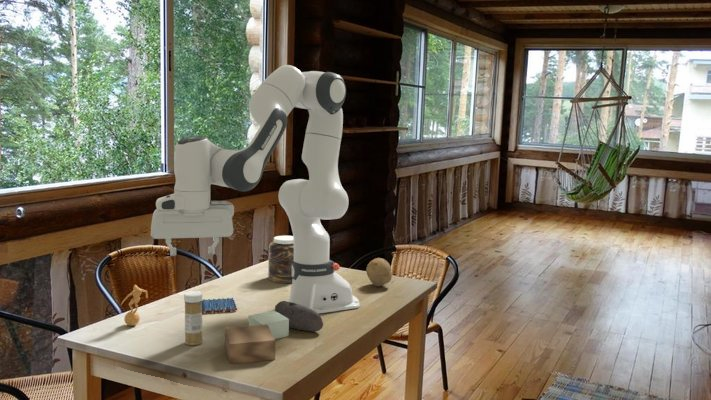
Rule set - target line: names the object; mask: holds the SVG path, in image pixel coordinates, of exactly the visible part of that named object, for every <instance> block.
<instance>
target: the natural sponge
mask: <svg viewBox="0 0 711 400" xmlns="http://www.w3.org/2000/svg"><path fill="white" fill-rule="evenodd" d="M365 271H366V275H367V277H368V279H369V281H370V283H372V284H373V286H375V287H380V288H381V287H383V286H384V285H386V284H388V283H390V282H391V280H392V276H393V273H392V267H391V265H390V263H389V262H388V261H387V260H386V259H385V258H381V257H377V258H376V257H375V258H374V259H372V260H370V261H369V263H368V264H367V266H366V269H365Z"/></svg>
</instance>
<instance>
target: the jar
mask: <svg viewBox="0 0 711 400" xmlns="http://www.w3.org/2000/svg"><path fill="white" fill-rule="evenodd" d="M293 259H294V239H293V235H276V236H274V237H273V241H272V242H270V243H269V246H268V265H267V266H268V267H267V268H268V274H267V275H268V280H269V281H270V282H273V283H278V284H292V280H293V278H292V260H293Z"/></svg>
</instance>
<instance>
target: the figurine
mask: <svg viewBox="0 0 711 400" xmlns="http://www.w3.org/2000/svg"><path fill="white" fill-rule="evenodd" d="M132 289H133V290H132V291H130V293H129V294H127V295H126V297H124V298H123V300H122V302H121V304H120V306H122V305H123V304H124V302H125V301H127V300H128V298H129V297H131V296H132V298H131V299H130V301H129V303H128V307H129V308H130V311H129V312H127V313H126V314H125V315H124V323H125V325H128V326H129V327H133V326H136V325H137V324H138V323H139V322H140V315H139V313H138V312H137V311H138V310H139V309H138V307H139V305H138V303H139V302H140V301H141V297H140V296H141V295H142V292H143V293H145V296H144V297H145V298H146V299H148V298H149V296H148V291H147V290H145V289H143V288H140V287H139V286H138V285H137V284H133V288H132ZM133 305H134V306H135V307H133ZM134 308H135V309H134Z"/></svg>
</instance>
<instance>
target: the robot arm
mask: <svg viewBox="0 0 711 400" xmlns="http://www.w3.org/2000/svg"><path fill="white" fill-rule="evenodd" d="M346 96H347V86H346V83H345V81H344V78H343V77H342V76H341V75H340V74H337V73H335V72H331V71H326V72H324V71H318V70H310V71H301V70H300V69H298V68H297V67H296V66H294V65H290V64H284V65H281V66H279V67H278V68H276V69H274V71H273V72H271V73H270V74H269V75H268V76H267V77H266V78H265V79H264V80H263V81H262V83H260V85H259V86H258V87H257V88H256V89H255V91H254V92H253V94H252V95H251V97H250V99H249V102H248V108H249V113H250V115H251V117H252V119H253V120H254V121H255V122H256V123H257V125H258V126H259V128H258V129H257V131H256V133H255V134H254V136H253V138H252V139H251V141H250V142H249V144H248V146H246V147H245V148H242V149H240V150H235V149H234V150H232V149H227V148H223V147H221V146H219V145H216V144H215V143H213V142H212V141H210V140H209V139H208V137H206V136H204V135H190V136H185V137H182V138H180V139H179V140H178V141H177V143H176V145H175V149H174V157H173V158H174V160H173V173H174V177H175V183H174V188H173V189H174V190H173V193H171V194H167V195H165V196H162V197H159V198H157V199H156V201H155V207H156V209H155V210H154V211H153V213H152V219H151V224H150V236H151V237H152V238H153V240H156V239H157V240H161V239H162V240H163V239H164V240H165V244H166V245H167V247H168V249H169V254H170V257H173V256H177V247H173V245H172V244H171V243H172V239H194V238H195V239H198V238H199V239H200V238H202V239H203V238H212V240H213V243H212V245H211V246H207V248H208V251H207V252H208V255H216V254H215V252H216V249H215V248H216V247H217V245H218V244H219V242H220V238H230V237H231V236H232V235H233V234H234V224H233V223H234V222H233V217H234V214H235V206H234V204H233V203H232V202H230V201H228V200H211V185H216V186H219V187H226V188H230V189H233V190H236V191H239V192H249V191H251V190H253V189H254V188H255V187H256V186H257V185H258V184H259V182H260V181H261V179H262V176H263V173H264V171H265V167H266V165H267V162H268V161H269V160H270V157H271V156H272V154H273V152H274V150H275V149H276V146H277V145H278V143H279V141H280V140H281V138H282V136H283V134H285V133H284V132H285V130H286V129H287V125H288V116H289V114H290V113H291V112H292V110H293V109H294V108H295V109H304V110H307V112H308V114H309V116H308V122H307V125H306V128H305V135H304V141H303V147H302V153H301V160H302V162H303V164H305V166H306V168H307V171H308V176H309V178H308V179H304V178H297V179H290V180H285V182H283V183H282V185H281V186H280V188H279V191H278V196H277V197H278V203H279V204H280V206H281V207H282V208H283V209H284V211H285V213H286V215H287V217H288V220H289V223H290V226H291V227H290V228H291V232H292V236H293V239H294V259H293V260H292V278H293V280H292V283H291V289H290V294H289V298H288V301H287V302H292V303H296V304H300V305H302V306H305V307H307V308H310V309H312V310H313V311H315V312H317V313H318V314H319V315H320V314H326V313H334V312H341V311H346V310H352V309H353V310H354V309H358V308H359V307H360V303H361V302H360V300H359V299H358V297H356V296H355V295H354V294H353V290H352V289H353V288H352V285H351V284H350V283H349V281H347V280H346V279H345V278H344V277H343V276H341V275H340V274H338V273H337V272H336V271H339V270H340V268H341V267H340V265H339V263H337V262H334V261H333V260H331V259H330V247H331V246H330V243H331V242H330V241H331V239H330V234H329V233H328V231H326V229H325V228H324V226H323V225H322V223H321V220H324V221H325V220H337V219H341V218H342V217H343V216H344V215H345V214H346V212H347V211H348V208H349V201H350V200H349V196H348V193H347V191H346V190H345V189H344V187H343V186H342V183H341V179H340V175H339V166H338V165H339V156H340V150H341V149H340V148H341V142H342V137H343V127H344V126H343V124H344V113H343V112H344V111H343V108H342V107H343V104H344V102H345V99H346Z"/></svg>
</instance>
